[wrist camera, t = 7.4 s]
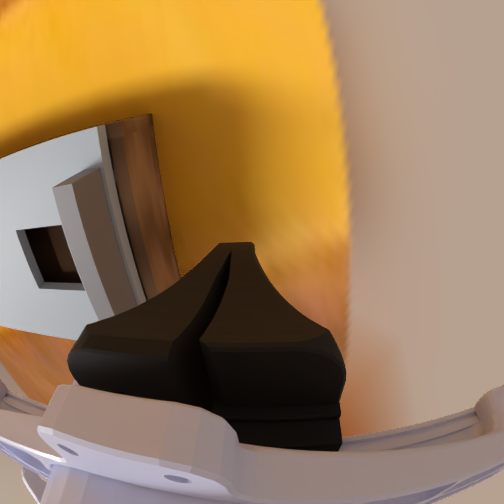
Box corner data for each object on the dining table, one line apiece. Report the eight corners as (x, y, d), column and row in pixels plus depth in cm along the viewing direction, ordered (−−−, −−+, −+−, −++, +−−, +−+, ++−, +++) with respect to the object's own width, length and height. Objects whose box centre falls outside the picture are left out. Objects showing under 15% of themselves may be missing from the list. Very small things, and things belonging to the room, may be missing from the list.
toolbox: (185, 299, 23) (171, 338, 19) (8, 291, 25) (-12, 314, 21) (151, 113, 16) (120, 120, 12) (-33, 173, 18) (-62, 189, 14)
